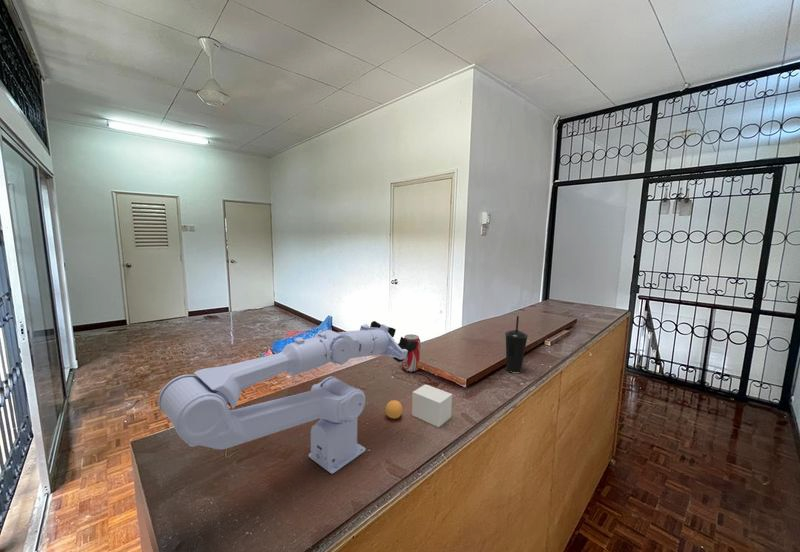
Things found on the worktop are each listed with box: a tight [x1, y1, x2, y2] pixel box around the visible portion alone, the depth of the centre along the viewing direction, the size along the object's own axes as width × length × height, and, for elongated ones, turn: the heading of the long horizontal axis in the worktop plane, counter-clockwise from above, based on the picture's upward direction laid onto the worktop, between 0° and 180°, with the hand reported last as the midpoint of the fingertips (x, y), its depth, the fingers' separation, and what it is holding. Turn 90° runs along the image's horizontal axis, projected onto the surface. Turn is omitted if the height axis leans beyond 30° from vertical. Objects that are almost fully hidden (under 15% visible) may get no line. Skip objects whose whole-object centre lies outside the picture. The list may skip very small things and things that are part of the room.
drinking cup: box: [504, 315, 529, 372], centre depth 113 cm, size 8×8×20 cm
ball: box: [385, 399, 403, 420], centre depth 83 cm, size 4×4×4 cm
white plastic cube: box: [411, 384, 453, 428], centre depth 84 cm, size 6×8×6 cm
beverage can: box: [401, 334, 421, 373], centre depth 113 cm, size 6×6×12 cm
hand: (404, 338), depth 82 cm, fingers open, 7 cm apart
